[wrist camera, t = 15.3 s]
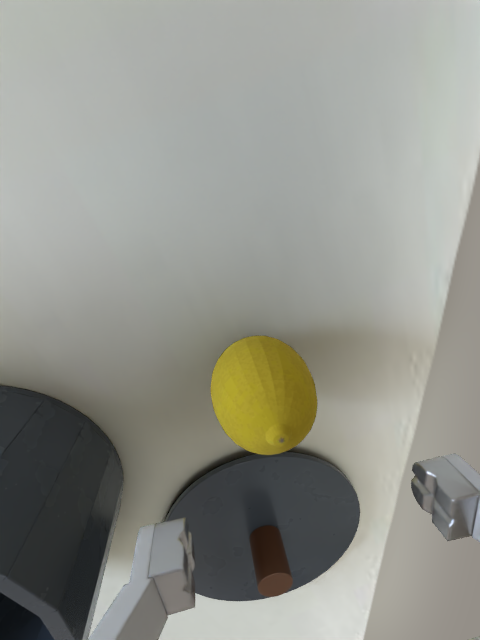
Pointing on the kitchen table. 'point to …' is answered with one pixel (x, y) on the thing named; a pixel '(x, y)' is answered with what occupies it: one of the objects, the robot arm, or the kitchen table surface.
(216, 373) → the lemon
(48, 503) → the pot
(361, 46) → the kitchen table surface
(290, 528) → the lid
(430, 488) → the robot arm
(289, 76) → the kitchen table surface
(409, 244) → the kitchen table surface
